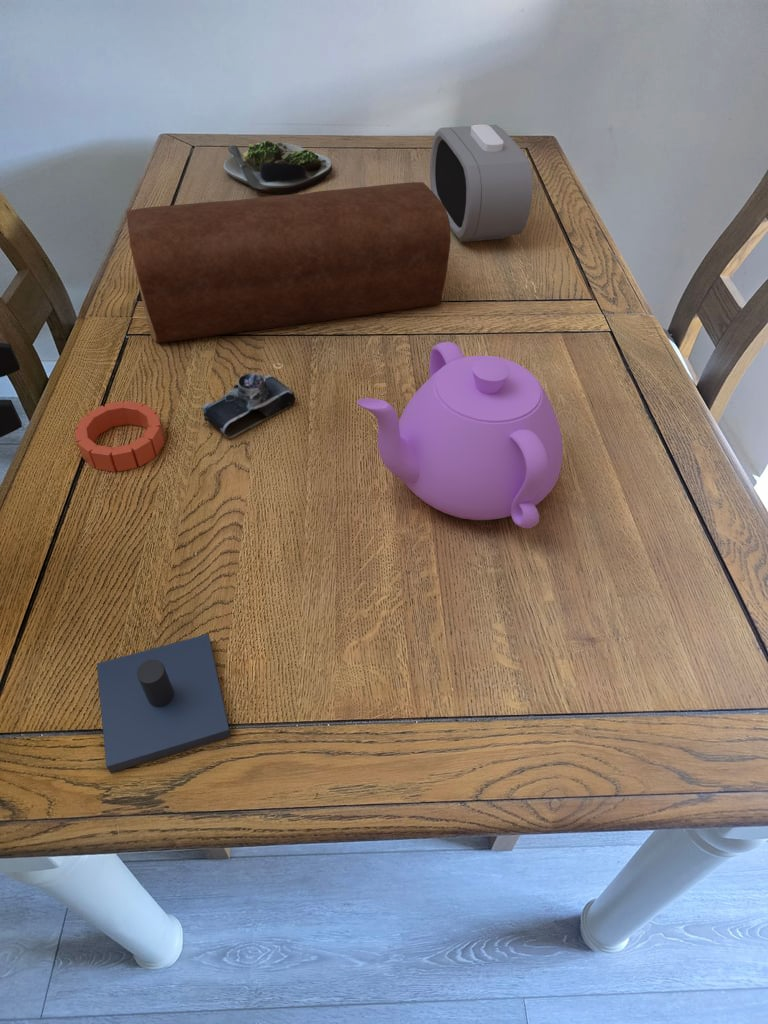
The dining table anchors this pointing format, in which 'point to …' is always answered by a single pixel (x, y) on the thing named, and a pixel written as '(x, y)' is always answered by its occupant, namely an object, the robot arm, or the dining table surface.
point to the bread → (288, 259)
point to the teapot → (474, 438)
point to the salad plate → (277, 167)
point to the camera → (248, 404)
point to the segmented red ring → (125, 454)
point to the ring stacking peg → (160, 702)
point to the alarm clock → (481, 181)
